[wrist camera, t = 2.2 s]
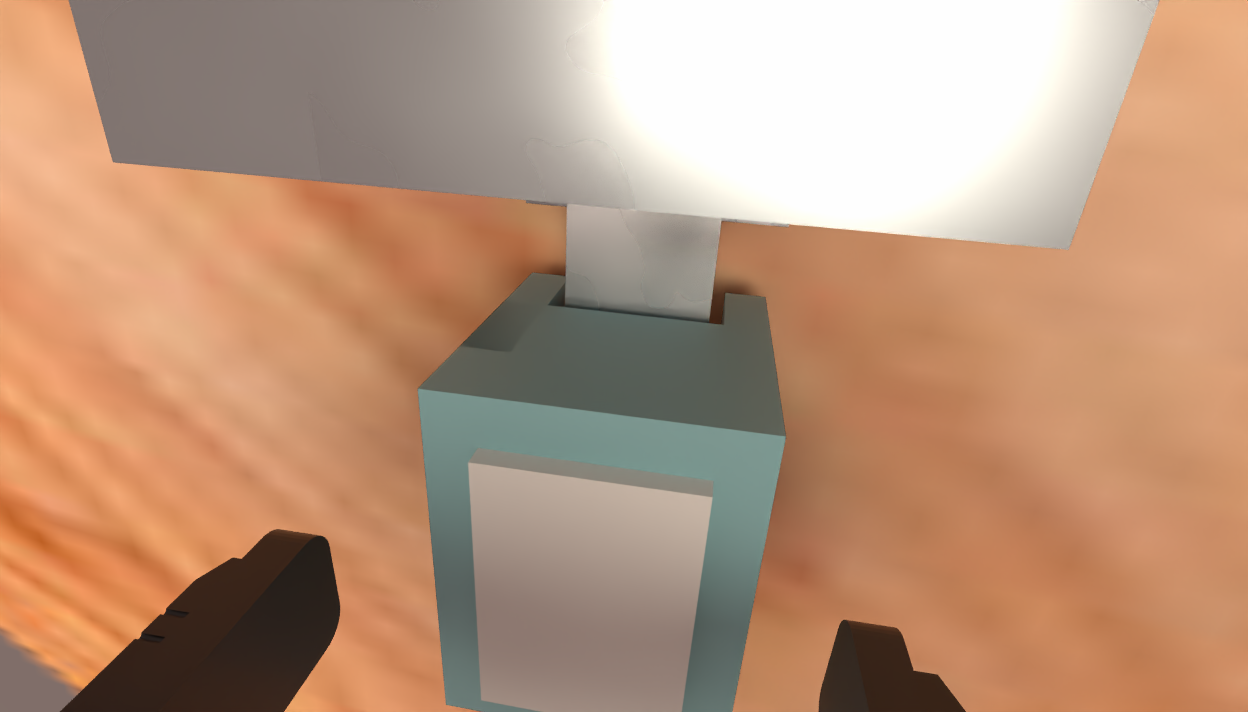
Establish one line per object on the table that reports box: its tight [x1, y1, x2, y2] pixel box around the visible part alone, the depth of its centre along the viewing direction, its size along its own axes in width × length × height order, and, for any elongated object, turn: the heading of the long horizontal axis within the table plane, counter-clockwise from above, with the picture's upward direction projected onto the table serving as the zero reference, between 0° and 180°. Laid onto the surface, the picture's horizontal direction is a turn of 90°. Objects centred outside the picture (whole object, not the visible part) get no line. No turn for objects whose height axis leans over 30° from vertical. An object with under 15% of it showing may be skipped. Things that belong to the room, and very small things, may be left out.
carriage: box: [418, 273, 786, 712], centre depth 13 cm, size 5×7×6 cm
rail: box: [526, 200, 789, 323], centre depth 19 cm, size 6×30×3 cm, turn 176°
